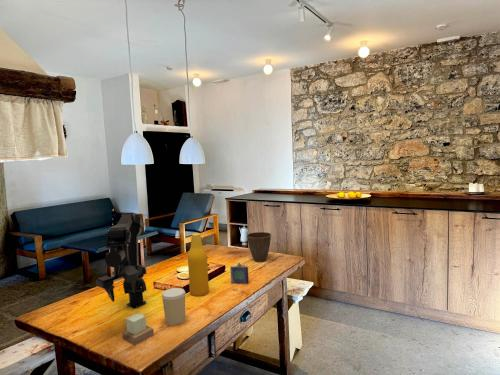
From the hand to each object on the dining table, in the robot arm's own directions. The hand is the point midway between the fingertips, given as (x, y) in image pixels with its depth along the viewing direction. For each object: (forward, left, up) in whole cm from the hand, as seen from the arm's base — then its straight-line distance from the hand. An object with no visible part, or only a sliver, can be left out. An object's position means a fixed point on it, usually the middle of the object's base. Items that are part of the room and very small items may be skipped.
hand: (124, 297), depth 136 cm
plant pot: (-3, +94, -12) cm, 95 cm away
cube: (+11, -2, -9) cm, 14 cm away
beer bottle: (+1, +39, -12) cm, 41 cm away
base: (+11, -2, -12) cm, 17 cm away
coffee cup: (+13, +14, -12) cm, 23 cm away
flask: (+10, +59, -12) cm, 61 cm away
